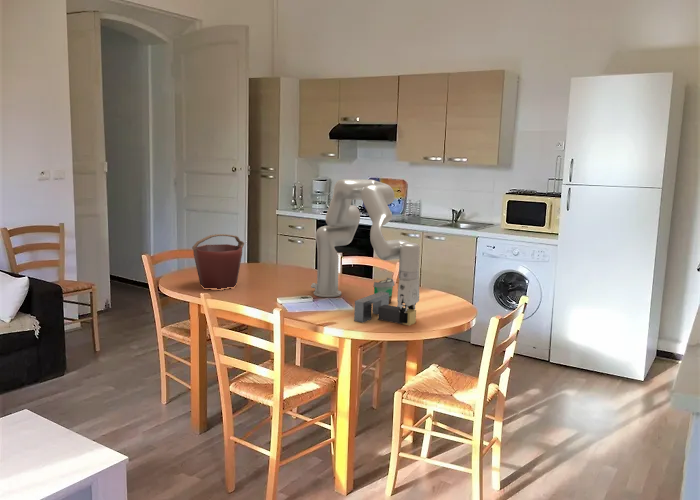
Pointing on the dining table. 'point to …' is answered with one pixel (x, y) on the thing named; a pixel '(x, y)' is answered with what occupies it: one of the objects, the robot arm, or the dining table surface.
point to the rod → (395, 314)
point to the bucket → (218, 263)
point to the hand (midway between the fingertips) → (406, 320)
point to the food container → (384, 287)
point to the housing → (369, 306)
